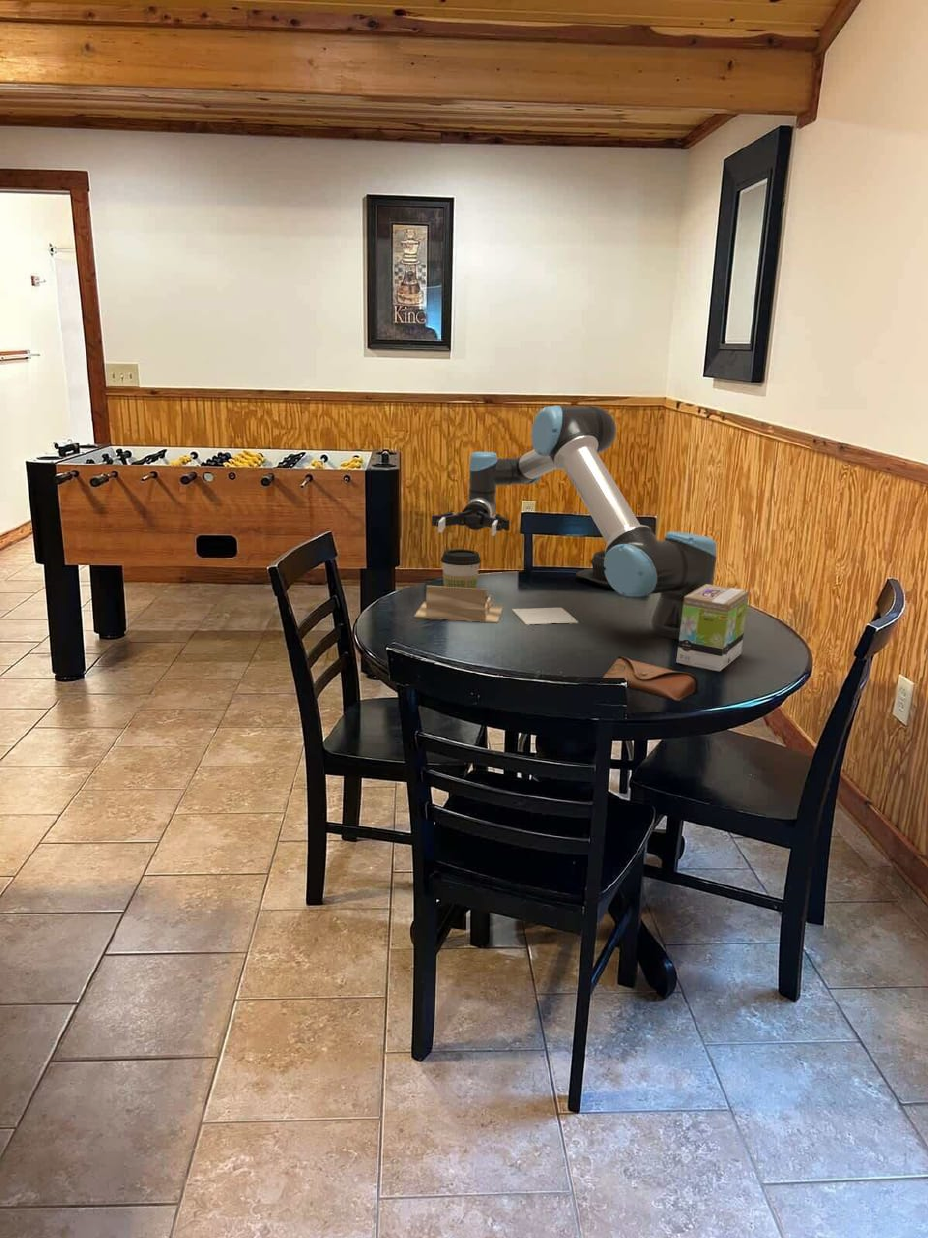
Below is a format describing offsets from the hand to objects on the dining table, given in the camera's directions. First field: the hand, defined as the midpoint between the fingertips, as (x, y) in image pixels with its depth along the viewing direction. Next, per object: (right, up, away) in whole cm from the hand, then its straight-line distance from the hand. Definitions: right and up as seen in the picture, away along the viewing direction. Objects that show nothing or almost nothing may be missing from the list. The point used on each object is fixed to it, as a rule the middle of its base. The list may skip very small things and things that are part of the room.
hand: (466, 528), depth 232 cm
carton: (-2, -21, -3) cm, 21 cm away
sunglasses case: (+35, -36, -51) cm, 72 cm away
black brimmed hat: (+43, -13, +29) cm, 54 cm away
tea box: (+52, -31, -34) cm, 70 cm away
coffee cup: (-2, -21, -4) cm, 22 cm away
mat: (+19, -22, -6) cm, 30 cm away
